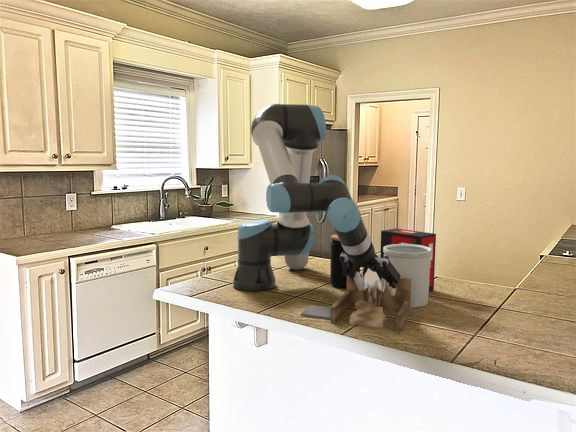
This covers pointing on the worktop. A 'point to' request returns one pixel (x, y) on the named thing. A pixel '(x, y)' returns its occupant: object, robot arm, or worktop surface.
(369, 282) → the beer glass
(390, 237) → the cleaning product box
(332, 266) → the coffee jar
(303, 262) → the glass bottle
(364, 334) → the worktop surface
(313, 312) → the coaster
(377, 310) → the offcut stack
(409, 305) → the open wooden frame
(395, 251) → the utensil holder
